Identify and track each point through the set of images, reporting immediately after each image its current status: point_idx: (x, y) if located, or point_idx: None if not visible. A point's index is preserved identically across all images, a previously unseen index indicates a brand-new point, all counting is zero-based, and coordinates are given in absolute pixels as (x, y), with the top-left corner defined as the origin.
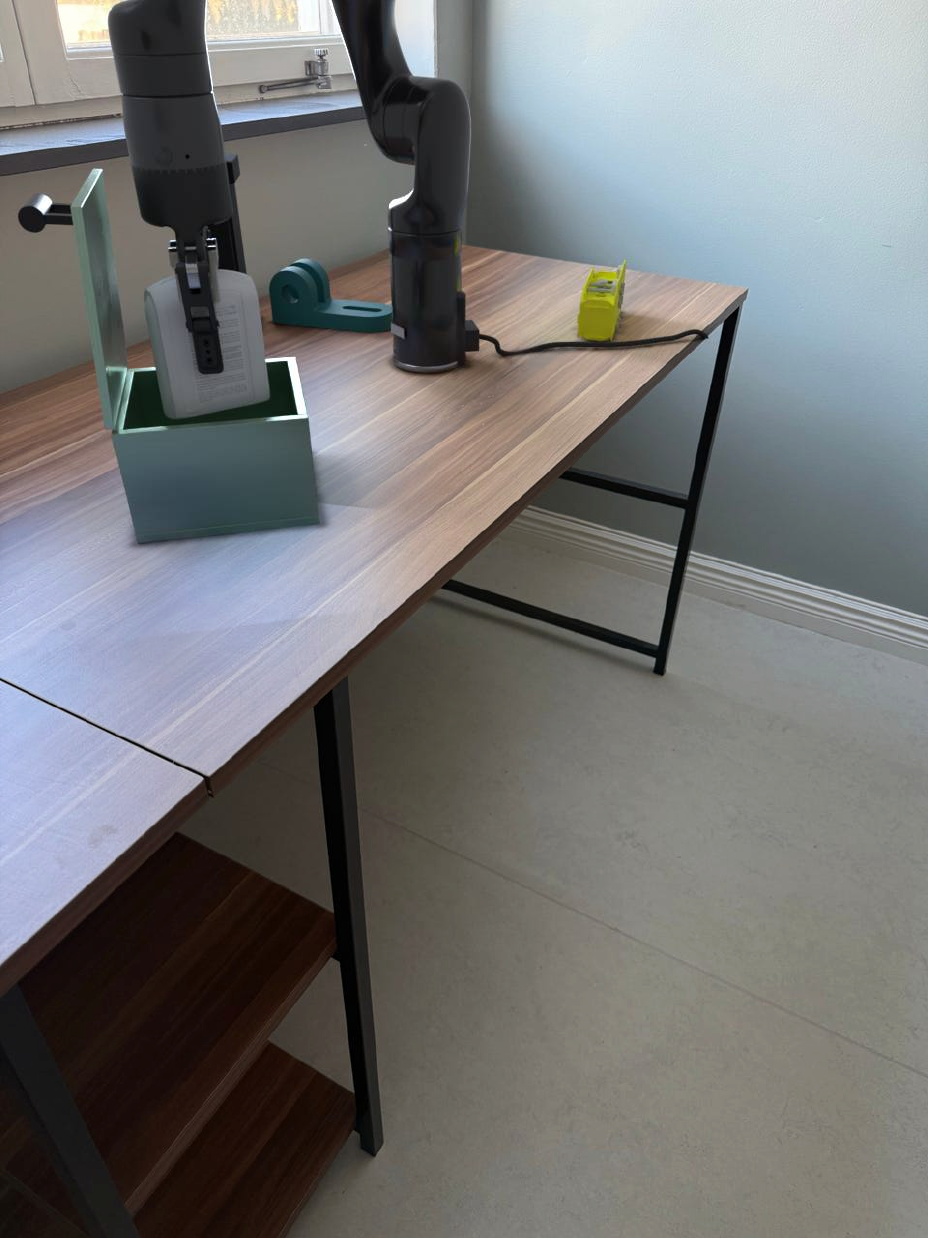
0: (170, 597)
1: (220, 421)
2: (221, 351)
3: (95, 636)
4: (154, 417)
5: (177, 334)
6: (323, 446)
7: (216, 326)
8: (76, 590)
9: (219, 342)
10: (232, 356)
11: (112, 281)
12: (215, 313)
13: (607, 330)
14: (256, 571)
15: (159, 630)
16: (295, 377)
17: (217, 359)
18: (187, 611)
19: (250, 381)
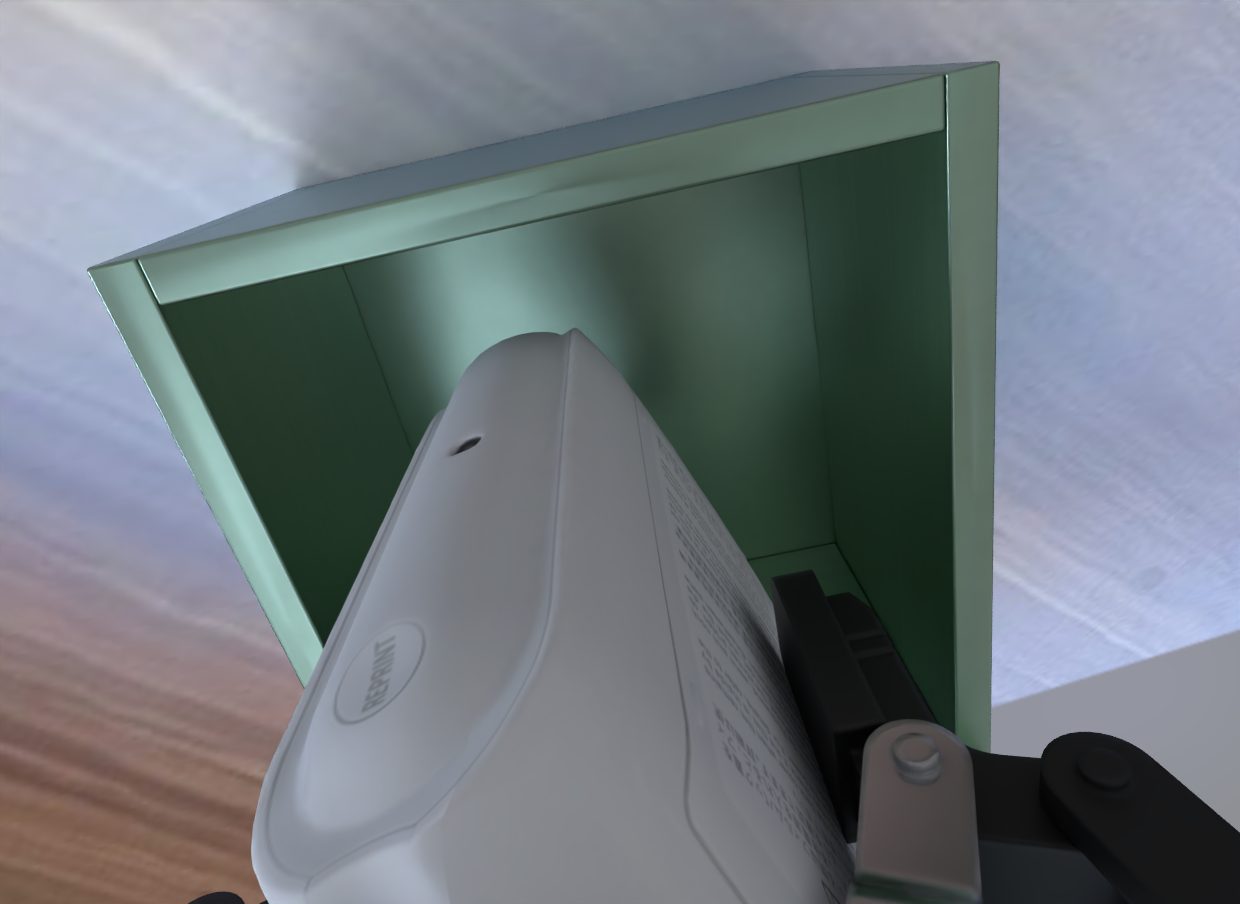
0: (1106, 417)
1: (381, 502)
2: (796, 631)
3: (1205, 522)
4: None
5: None
6: (217, 127)
7: (1147, 760)
8: (1022, 603)
9: (861, 671)
10: (703, 565)
11: None
12: (1116, 838)
13: None
14: (1045, 232)
15: (1231, 408)
16: (418, 219)
17: (867, 624)
18: (1177, 367)
19: (643, 431)
